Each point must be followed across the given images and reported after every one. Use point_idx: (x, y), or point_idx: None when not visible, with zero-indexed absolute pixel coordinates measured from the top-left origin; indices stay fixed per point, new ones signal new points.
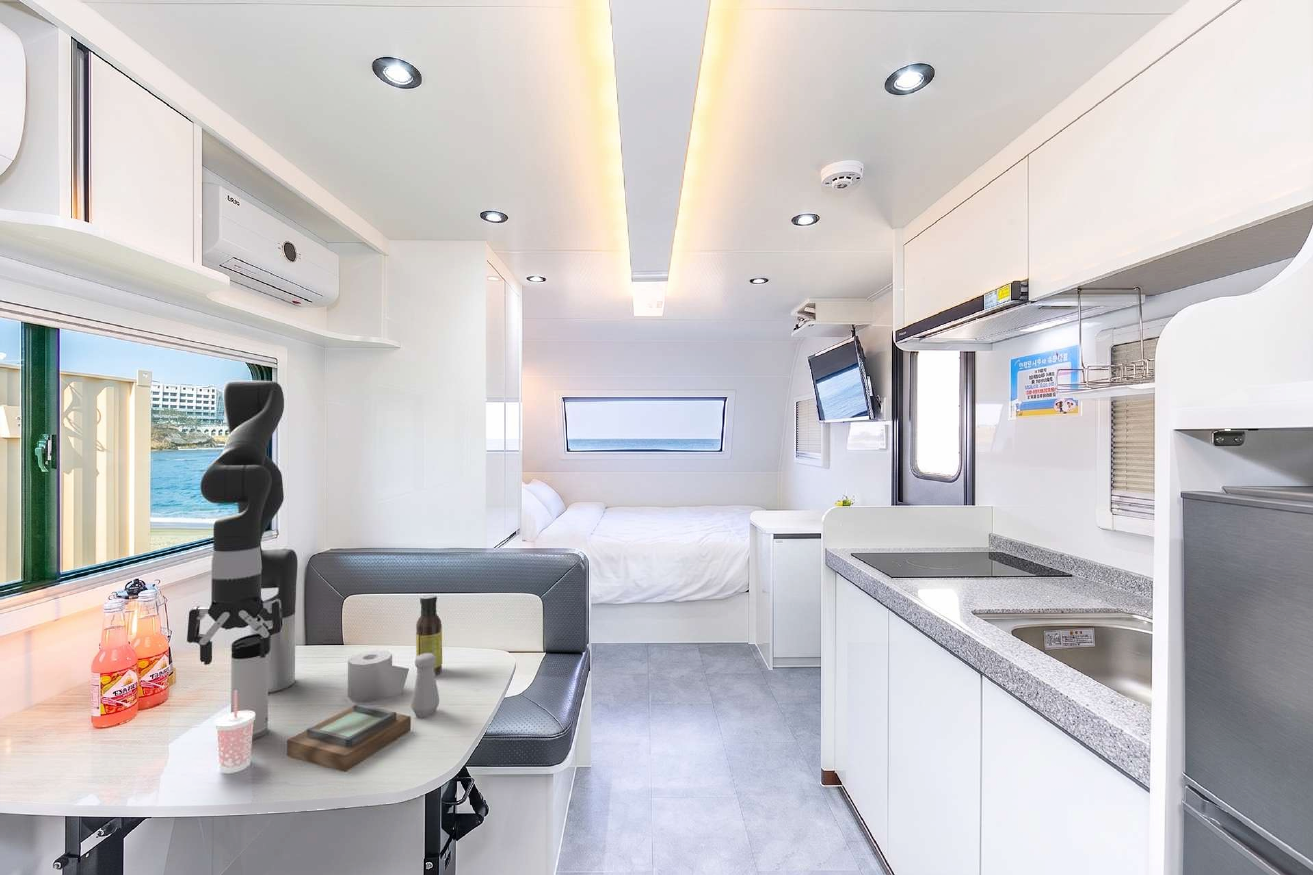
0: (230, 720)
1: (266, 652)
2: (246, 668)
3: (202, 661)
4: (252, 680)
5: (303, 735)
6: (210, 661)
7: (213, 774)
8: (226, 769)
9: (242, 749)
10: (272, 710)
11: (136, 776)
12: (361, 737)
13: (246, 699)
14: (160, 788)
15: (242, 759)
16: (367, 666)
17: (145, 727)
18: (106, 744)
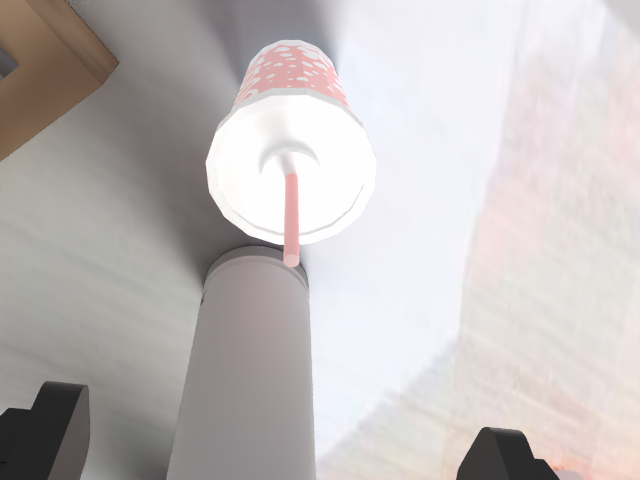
0: (313, 157)
1: (16, 423)
2: (249, 475)
3: (537, 463)
4: (228, 416)
5: (38, 89)
6: (471, 462)
7: (358, 69)
8: (319, 52)
9: (265, 67)
10: None
11: (552, 194)
12: None
13: (257, 352)
14: (509, 68)
15: (266, 56)
16: None
17: None
18: (578, 400)
